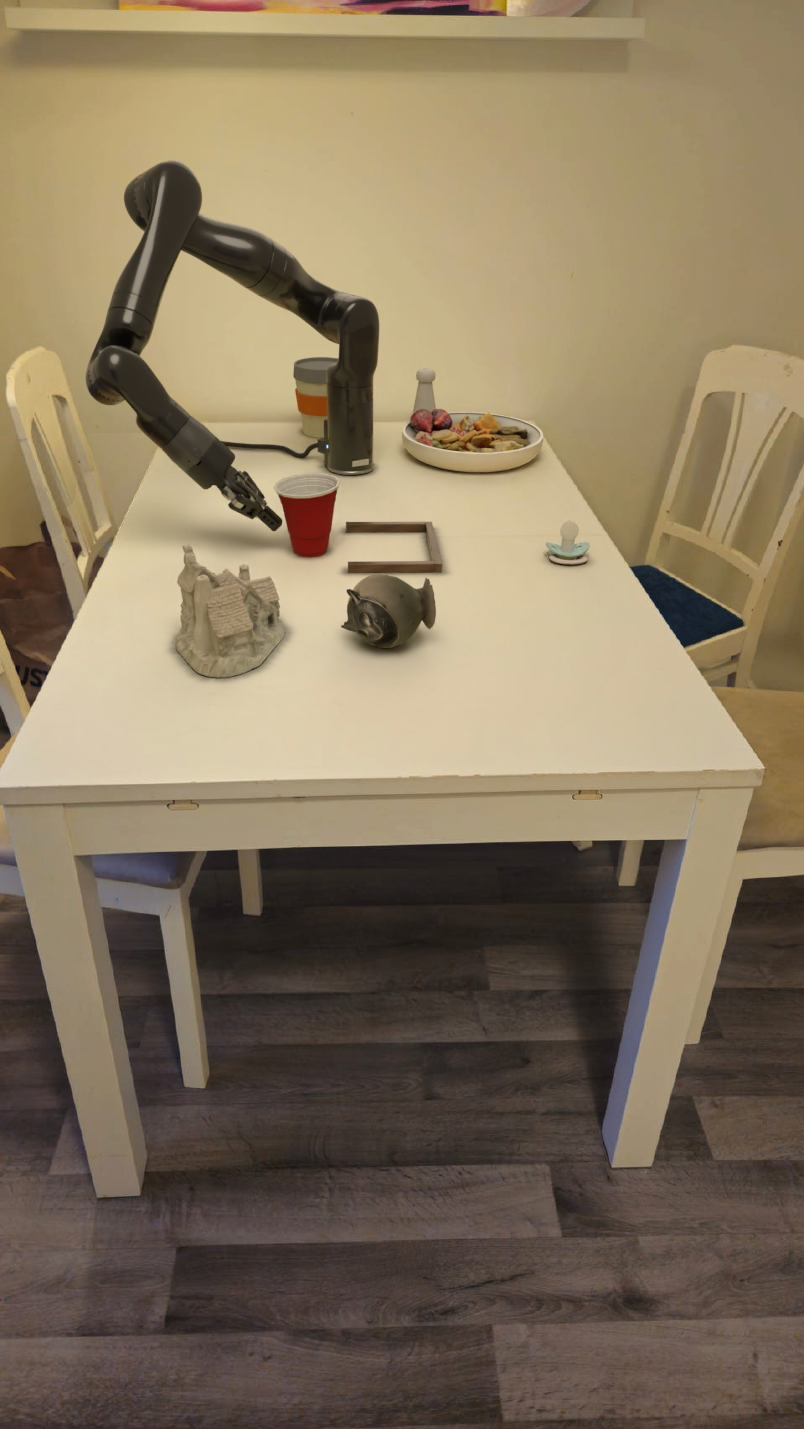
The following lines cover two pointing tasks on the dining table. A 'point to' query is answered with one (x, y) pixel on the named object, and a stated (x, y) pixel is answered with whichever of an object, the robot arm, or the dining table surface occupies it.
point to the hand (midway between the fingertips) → (278, 526)
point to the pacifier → (568, 546)
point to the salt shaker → (425, 390)
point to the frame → (397, 565)
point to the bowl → (471, 440)
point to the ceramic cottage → (226, 619)
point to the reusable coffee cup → (312, 393)
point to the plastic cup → (308, 510)
